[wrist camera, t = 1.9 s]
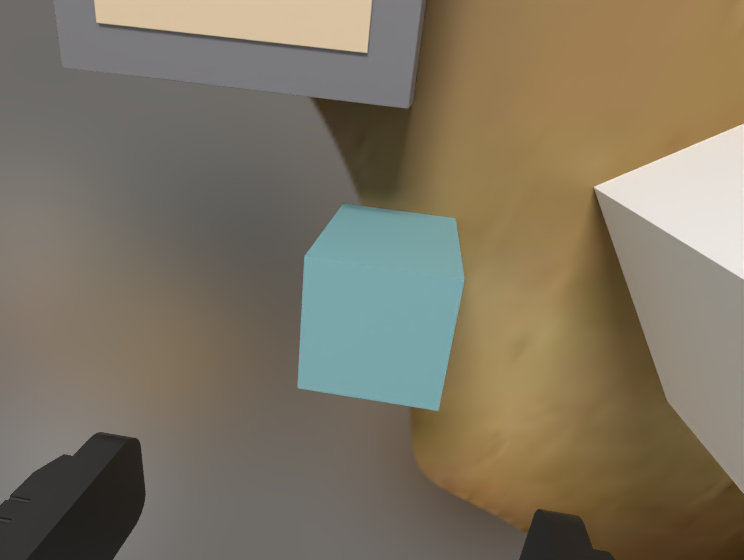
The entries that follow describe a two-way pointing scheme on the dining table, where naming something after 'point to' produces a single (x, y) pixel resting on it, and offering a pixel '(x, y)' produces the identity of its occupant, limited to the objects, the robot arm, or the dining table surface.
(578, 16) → the dining table surface
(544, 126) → the dining table surface
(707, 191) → the milk
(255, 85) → the plinth
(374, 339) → the teal block
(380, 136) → the dining table surface
